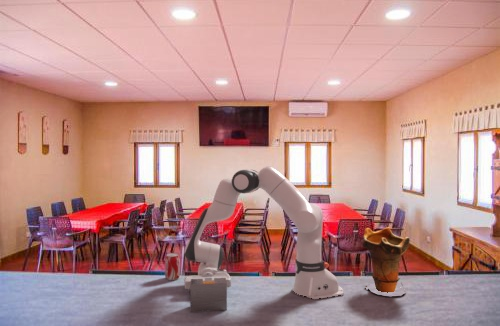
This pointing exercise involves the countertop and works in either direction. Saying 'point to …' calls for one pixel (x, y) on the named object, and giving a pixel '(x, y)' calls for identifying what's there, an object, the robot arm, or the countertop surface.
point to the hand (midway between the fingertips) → (208, 288)
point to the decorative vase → (385, 256)
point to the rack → (208, 295)
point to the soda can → (172, 266)
